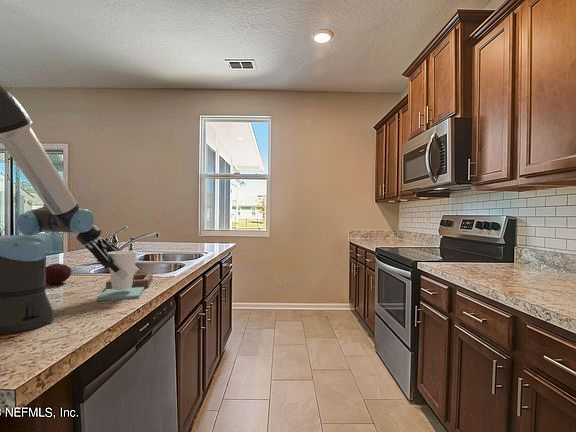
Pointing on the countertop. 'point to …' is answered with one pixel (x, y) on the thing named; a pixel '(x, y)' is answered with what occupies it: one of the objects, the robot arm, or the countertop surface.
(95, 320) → the countertop surface
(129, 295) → the mat
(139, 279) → the brown flat square frame
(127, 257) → the foam cup
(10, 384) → the countertop surface
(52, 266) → the potato
